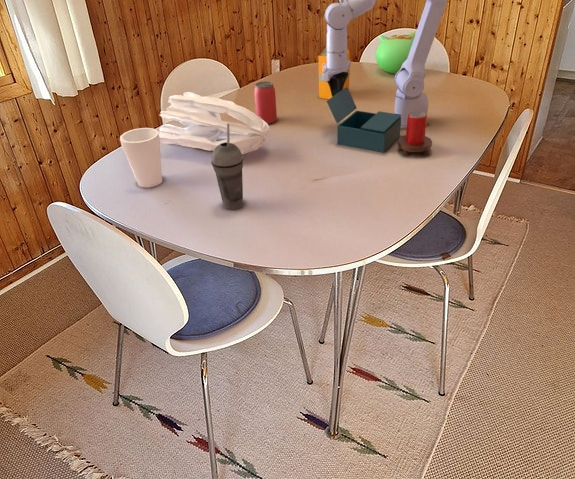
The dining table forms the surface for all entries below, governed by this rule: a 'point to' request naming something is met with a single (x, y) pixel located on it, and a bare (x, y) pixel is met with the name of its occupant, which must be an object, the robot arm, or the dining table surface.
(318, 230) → the dining table surface
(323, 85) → the orange juice
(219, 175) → the beverage cup
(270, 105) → the beer can
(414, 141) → the can
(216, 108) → the white plastic bag
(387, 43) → the green round bowl
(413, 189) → the dining table surface
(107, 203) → the dining table surface
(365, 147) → the teal box
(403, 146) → the coaster
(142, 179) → the foam cup
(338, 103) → the cool box flap
